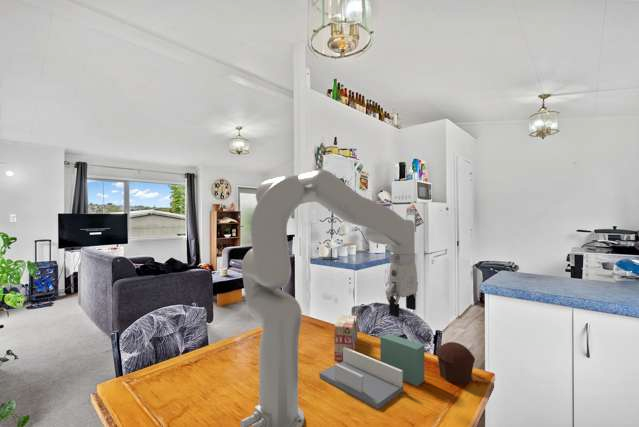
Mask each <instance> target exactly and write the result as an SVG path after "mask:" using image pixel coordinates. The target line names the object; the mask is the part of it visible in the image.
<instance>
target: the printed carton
mask: <svg viewBox="0 0 639 427" xmlns="http://www.w3.org/2000/svg"><path fill="white" fill-rule="evenodd" d="M357 320H358V316H357V315H351V314H349V315H348V314H347V315H346V314H339V315H338V317H337V320H336V322H335V324H334V351H333V352H334V361H339V362H343V348H344V347H346V348H349V349H351V350H353V351H356V350H355V349H356V345H357V341H358V340H357V339H358V321H357Z"/></svg>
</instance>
